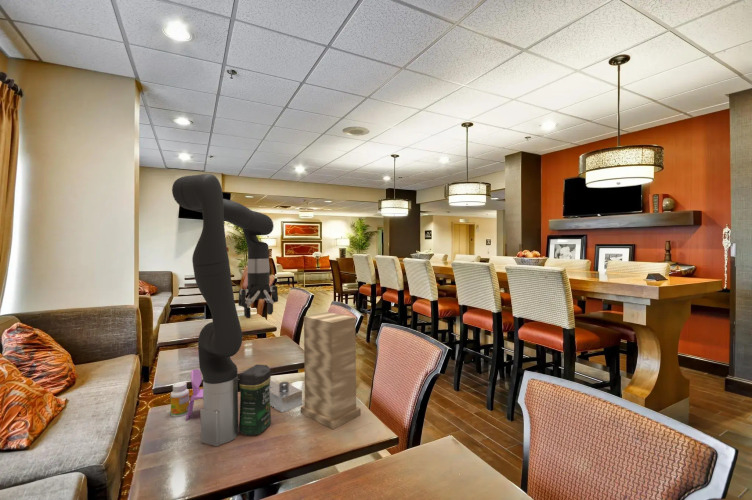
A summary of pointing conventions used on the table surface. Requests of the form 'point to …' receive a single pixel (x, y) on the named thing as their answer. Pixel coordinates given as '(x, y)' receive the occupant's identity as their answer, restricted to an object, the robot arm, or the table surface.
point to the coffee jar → (254, 400)
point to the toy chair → (195, 389)
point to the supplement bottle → (179, 399)
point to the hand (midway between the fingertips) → (259, 316)
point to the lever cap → (284, 396)
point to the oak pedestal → (330, 369)
